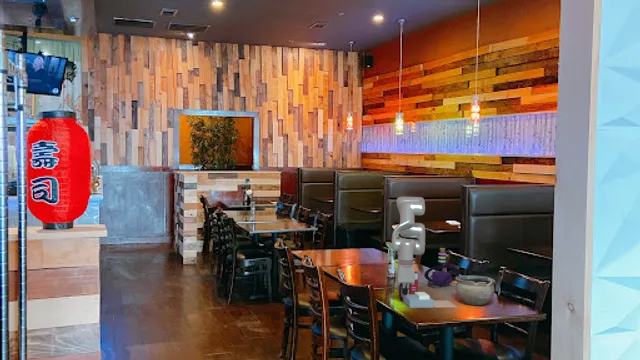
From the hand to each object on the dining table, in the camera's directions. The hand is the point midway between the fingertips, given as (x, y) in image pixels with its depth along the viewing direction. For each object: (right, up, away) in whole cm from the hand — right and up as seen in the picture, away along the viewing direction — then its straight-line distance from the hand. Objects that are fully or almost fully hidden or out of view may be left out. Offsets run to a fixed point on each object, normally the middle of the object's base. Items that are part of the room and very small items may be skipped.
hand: (404, 294), depth 319 cm
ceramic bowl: (+41, -7, +7) cm, 43 cm away
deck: (+8, -6, +2) cm, 10 cm away
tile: (+10, -2, +2) cm, 10 cm away
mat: (+22, -6, +3) cm, 23 cm away
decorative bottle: (+32, -5, +51) cm, 60 cm away
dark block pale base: (+5, -5, +18) cm, 20 cm away
